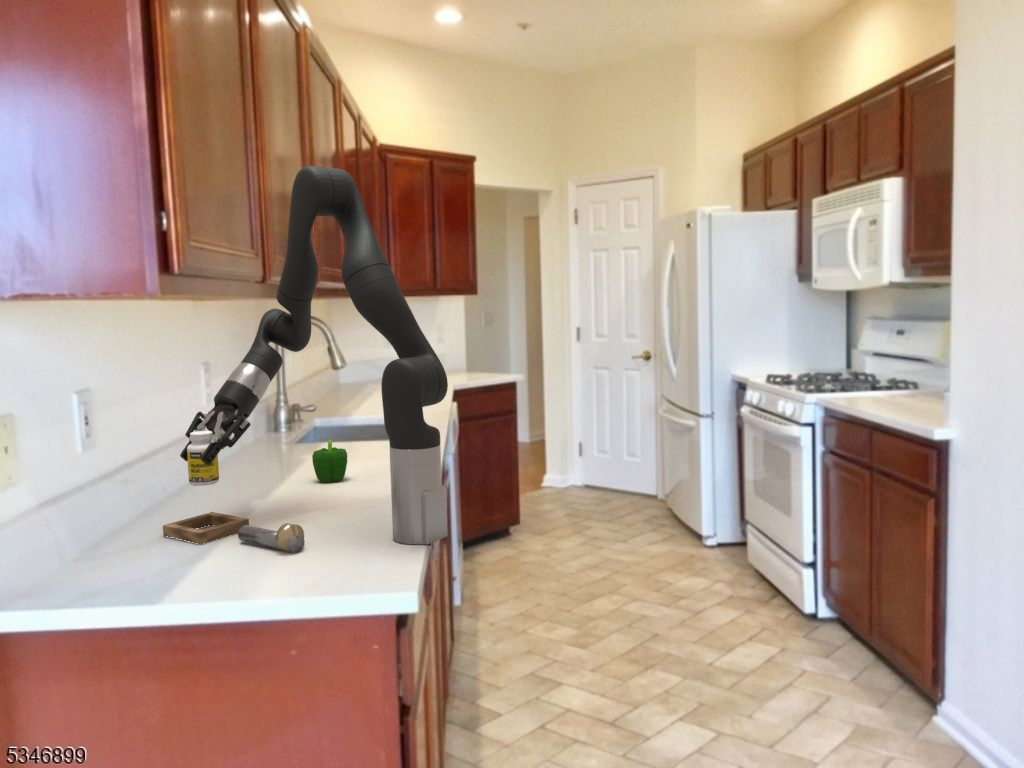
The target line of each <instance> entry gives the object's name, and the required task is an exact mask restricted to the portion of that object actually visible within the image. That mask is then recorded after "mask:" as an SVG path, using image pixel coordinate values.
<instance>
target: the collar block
mask: <svg viewBox="0 0 1024 768" xmlns="http://www.w3.org/2000/svg"><path fill="white" fill-rule="evenodd" d="M208 525H211V526H208ZM212 525H215V526H212ZM244 525H248V526H250V519H249V518H247V517H242V516H235V515H232V514H231V515H230V514H224V513H220V512H215V511H211V512H210V511H209V512H208V513H207V512H206V513H204V514H200V515H195V516H192V517H188V518H185V519H182V520H177V521H174V522H171V523H167V524H163V525H162V532H163V533H162V534H163V535H162V536H168V537H174V538H178V539H182V540H186V541H190V542H194V543H198V544H202V545H204V544H203V543H205V544H208V543H207V542H209V543H211V542H210V541H212V542H214V541H213V540H215V541H217V540H216V539H218V540H221V539H220V538H222V539H224V538H223V537H225V538H228V537H230V535H231V536H234V535H238V532H239V530H240V528H241V527H242V526H244ZM204 526H208V528H207V527H206V528H205V527H204ZM201 527H204V529H203V528H201ZM196 528H201V529H196ZM227 536H228V537H227ZM194 543H193V544H194ZM198 544H197V545H198Z"/></svg>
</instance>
